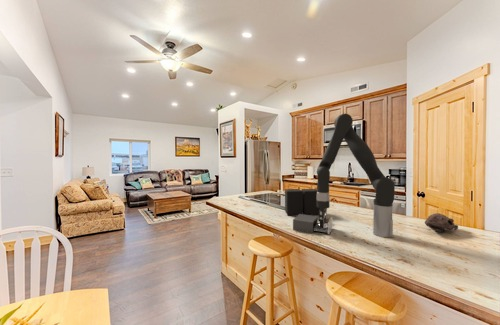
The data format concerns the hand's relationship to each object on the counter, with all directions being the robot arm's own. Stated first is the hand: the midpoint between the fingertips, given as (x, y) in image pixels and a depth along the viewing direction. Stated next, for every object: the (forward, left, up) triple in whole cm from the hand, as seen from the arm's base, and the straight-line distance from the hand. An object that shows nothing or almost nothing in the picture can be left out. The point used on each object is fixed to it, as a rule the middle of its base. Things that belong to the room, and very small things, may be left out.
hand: (322, 225), depth 131 cm
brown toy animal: (-61, -28, -3) cm, 68 cm away
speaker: (+21, -31, -3) cm, 38 cm away
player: (+11, 0, -3) cm, 11 cm away
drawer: (0, 0, -2) cm, 2 cm away
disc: (0, 0, -1) cm, 1 cm away
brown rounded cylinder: (+1, -14, -3) cm, 15 cm away
